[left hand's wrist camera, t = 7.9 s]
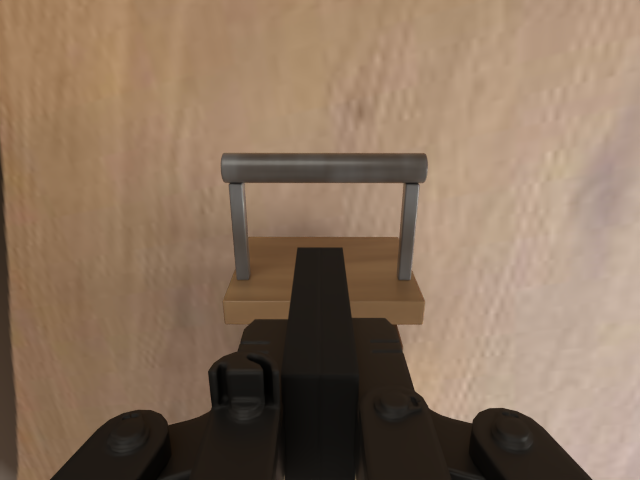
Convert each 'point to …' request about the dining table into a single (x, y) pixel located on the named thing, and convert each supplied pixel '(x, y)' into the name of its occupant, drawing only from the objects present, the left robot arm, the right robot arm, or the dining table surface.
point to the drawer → (359, 252)
